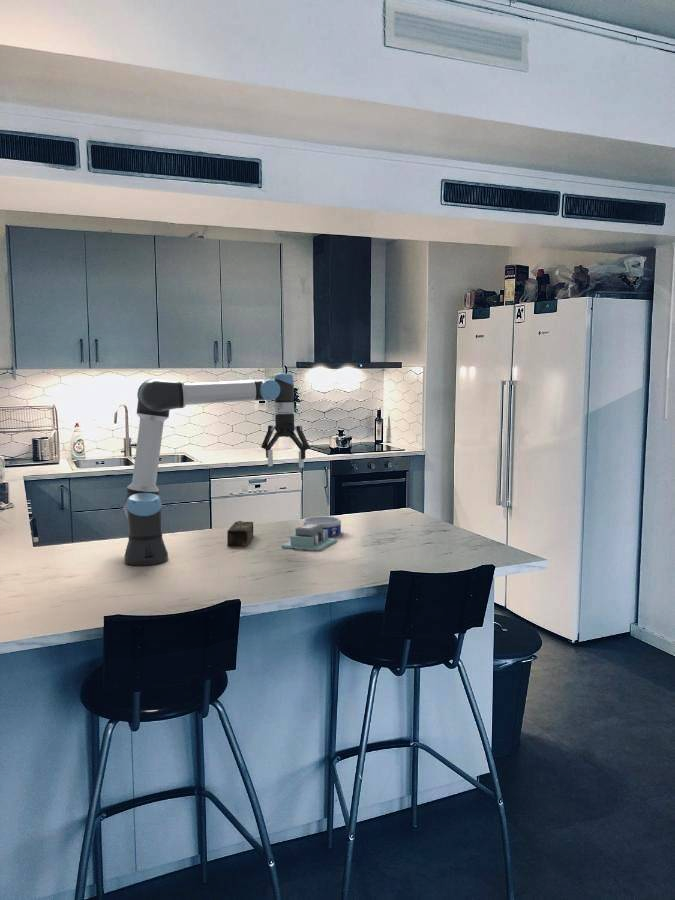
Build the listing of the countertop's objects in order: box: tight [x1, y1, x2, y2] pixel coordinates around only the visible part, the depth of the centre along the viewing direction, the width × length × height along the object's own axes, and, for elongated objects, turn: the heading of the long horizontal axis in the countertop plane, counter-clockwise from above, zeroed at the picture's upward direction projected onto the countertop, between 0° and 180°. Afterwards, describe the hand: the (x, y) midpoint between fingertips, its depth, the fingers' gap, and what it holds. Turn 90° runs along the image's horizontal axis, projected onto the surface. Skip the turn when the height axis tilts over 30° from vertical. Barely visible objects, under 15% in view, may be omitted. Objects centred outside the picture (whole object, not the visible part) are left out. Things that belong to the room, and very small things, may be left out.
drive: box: [295, 523, 323, 544], centre depth 278 cm, size 10×6×6 cm, turn 154°
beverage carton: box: [226, 520, 254, 547], centre depth 286 cm, size 8×19×7 cm, turn 179°
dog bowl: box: [303, 515, 342, 538], centre depth 297 cm, size 15×15×6 cm
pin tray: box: [281, 530, 338, 552], centre depth 278 cm, size 16×16×4 cm
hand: (285, 466), depth 287 cm, fingers open, 13 cm apart
